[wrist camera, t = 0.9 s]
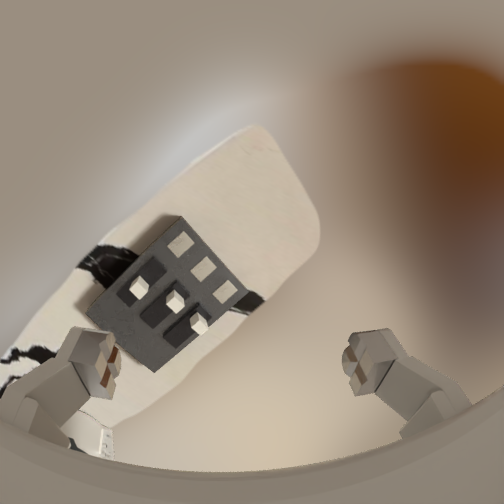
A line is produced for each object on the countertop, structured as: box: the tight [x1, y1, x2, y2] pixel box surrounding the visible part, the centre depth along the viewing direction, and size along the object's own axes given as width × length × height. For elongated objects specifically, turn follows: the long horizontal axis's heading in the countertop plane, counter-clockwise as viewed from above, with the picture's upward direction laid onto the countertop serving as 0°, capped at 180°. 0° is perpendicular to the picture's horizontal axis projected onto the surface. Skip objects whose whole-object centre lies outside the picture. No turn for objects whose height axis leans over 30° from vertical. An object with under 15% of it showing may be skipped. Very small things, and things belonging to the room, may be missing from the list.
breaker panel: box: [86, 216, 249, 373], centre depth 44 cm, size 24×17×4 cm
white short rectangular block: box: [190, 312, 209, 336], centre depth 43 cm, size 2×2×3 cm
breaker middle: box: [166, 290, 185, 314], centre depth 41 cm, size 2×2×3 cm
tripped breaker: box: [129, 275, 149, 300], centre depth 39 cm, size 2×2×3 cm
